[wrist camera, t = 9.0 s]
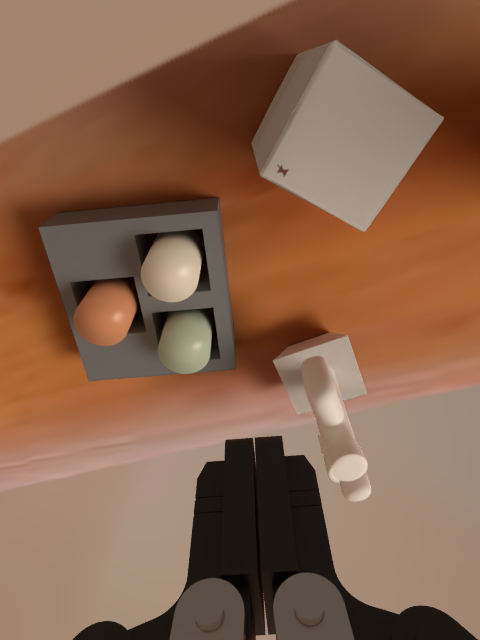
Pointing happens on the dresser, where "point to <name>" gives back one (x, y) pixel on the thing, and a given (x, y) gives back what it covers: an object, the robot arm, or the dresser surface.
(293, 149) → the supplement box
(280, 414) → the dresser surface
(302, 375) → the figurine
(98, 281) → the brown egg
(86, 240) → the grey square tray
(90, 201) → the dresser surface
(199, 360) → the green egg
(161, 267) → the white egg
